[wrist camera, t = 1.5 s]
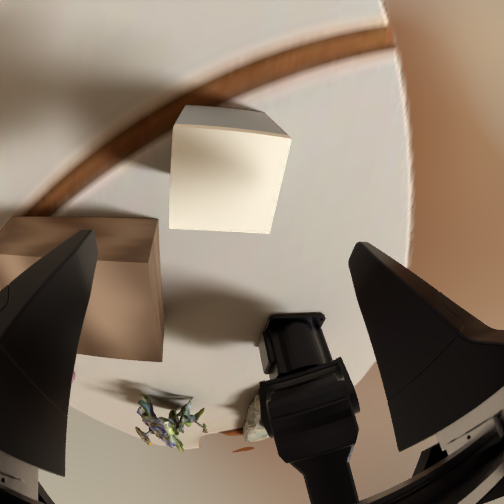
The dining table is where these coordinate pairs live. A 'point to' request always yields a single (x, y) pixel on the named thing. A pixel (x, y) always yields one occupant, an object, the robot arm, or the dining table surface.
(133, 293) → the walnut step
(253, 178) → the grey block
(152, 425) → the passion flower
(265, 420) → the robot arm
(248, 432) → the elongated rock
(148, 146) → the dining table surface
